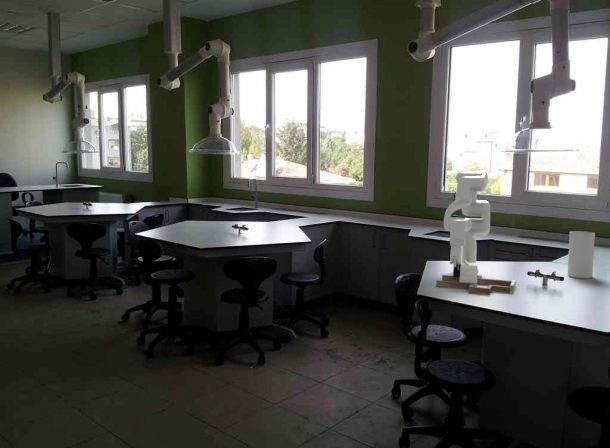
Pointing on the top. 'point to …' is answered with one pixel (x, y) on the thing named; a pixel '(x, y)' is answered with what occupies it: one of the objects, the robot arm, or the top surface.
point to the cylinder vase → (581, 254)
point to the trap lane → (493, 284)
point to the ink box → (468, 273)
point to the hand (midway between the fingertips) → (456, 276)
